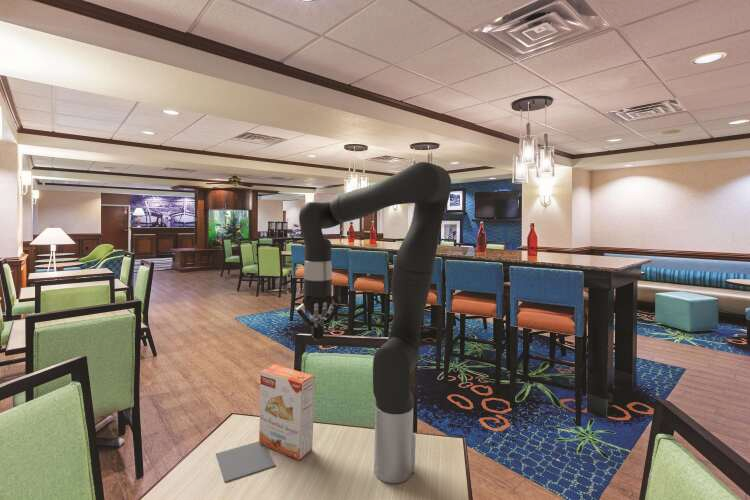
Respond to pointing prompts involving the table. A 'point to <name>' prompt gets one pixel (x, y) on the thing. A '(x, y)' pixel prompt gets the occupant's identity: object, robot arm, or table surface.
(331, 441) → the table surface
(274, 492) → the table surface
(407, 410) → the robot arm
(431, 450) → the table surface
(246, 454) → the mat
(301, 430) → the cracker box
